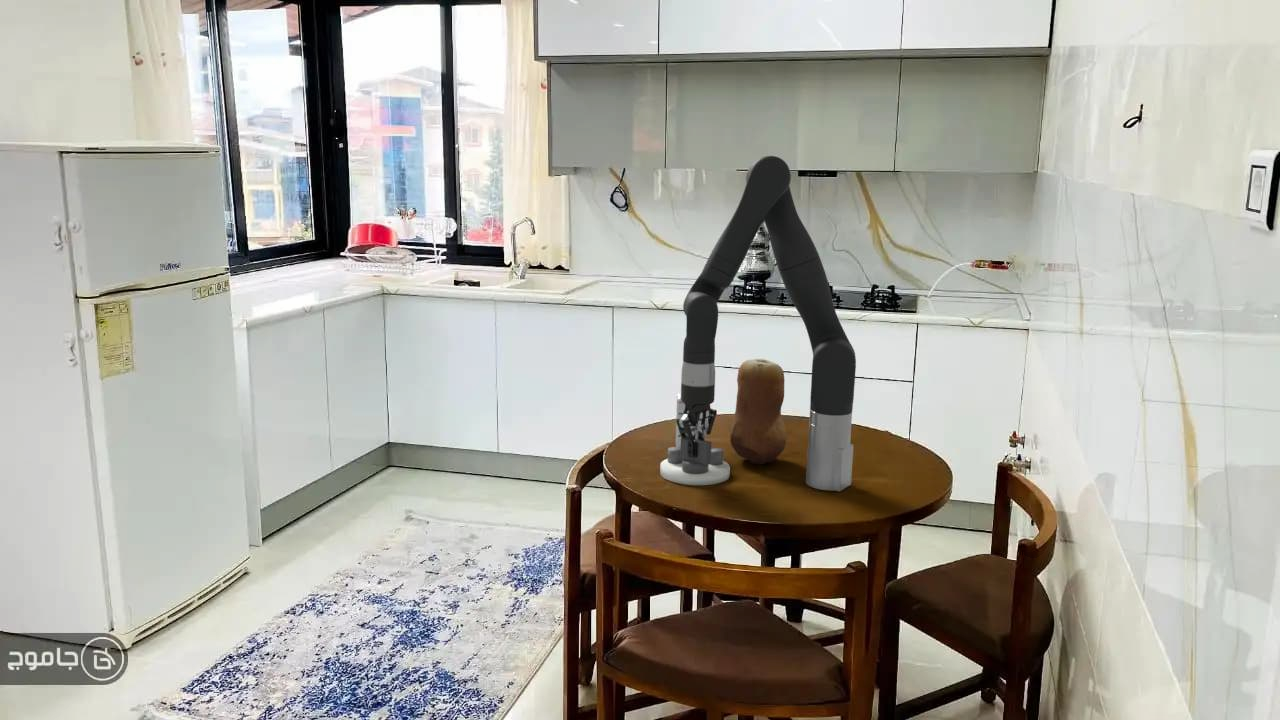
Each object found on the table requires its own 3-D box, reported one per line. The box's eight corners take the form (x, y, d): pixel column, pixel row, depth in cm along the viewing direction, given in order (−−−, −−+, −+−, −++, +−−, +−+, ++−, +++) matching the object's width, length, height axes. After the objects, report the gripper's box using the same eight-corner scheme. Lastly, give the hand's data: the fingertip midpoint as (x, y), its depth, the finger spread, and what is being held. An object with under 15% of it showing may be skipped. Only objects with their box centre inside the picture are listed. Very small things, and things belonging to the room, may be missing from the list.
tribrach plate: (742, 472, 221) (743, 452, 220) (705, 490, 208) (705, 468, 207) (685, 459, 230) (686, 439, 229) (646, 475, 217) (646, 454, 216)
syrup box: (699, 456, 233) (701, 398, 230) (675, 455, 233) (676, 398, 230) (698, 449, 238) (700, 393, 236) (674, 448, 239) (676, 392, 236)
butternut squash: (791, 457, 233) (797, 358, 228) (776, 473, 221) (781, 368, 216) (738, 450, 239) (742, 352, 234) (720, 464, 227) (724, 362, 222)
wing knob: (715, 469, 215) (716, 438, 214) (700, 476, 211) (701, 444, 209) (689, 463, 220) (690, 433, 218) (674, 469, 215) (675, 438, 213)
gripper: (694, 389, 203) (692, 466, 207) (728, 378, 214) (725, 452, 218) (666, 383, 208) (664, 459, 211) (700, 373, 219) (698, 446, 222)
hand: (695, 455), depth 214 cm, fingers closed on wing knob, 2 cm apart
